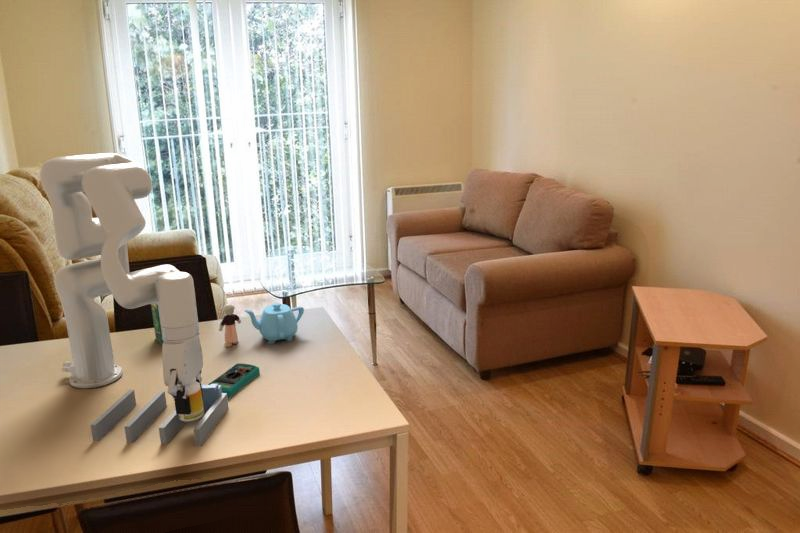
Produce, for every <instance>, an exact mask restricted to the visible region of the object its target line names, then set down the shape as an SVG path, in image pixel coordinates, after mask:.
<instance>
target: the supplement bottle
mask: <svg viewBox="0 0 800 533" xmlns="http://www.w3.org/2000/svg"><path fill="white" fill-rule="evenodd" d="M177 383H182V382H180V381H178V382H177ZM178 390H181V391H182V392H183V387H178ZM187 397H189V398H190V406H191V413H190V414H178V415H179V419H180V420H182V421H185V422H193V421H197V420H199V419H200V418H201V419H202V418H203V416H204V415H205V411H204V407H203V401H202V394H201V387H200V384H199V383H198V382H196V377H195V378H194V379H193V380H192V381H191V382H190V383H189V384H188V390H187Z"/></svg>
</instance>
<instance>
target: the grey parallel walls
mask: <svg viewBox="0 0 800 533" xmlns="http://www.w3.org/2000/svg"><path fill="white" fill-rule="evenodd" d="M201 385H202V393H203V399H202V401H203V407H204V412H206V413H204V414H203V416H202V417H201V419H200V420H199V422H198V423H196V425H195V426H194V428H193V436H194V437H193V438H194V444H195V447H201V446H202V445H203V444H204V442H205V441H206V440H207V438H209V436H210V434H211V433H212V431H213V430H214V429H215V427H216V426H217V424H218V423H220V420H221V419H222V418H223V416H224V415H225V414H226V413H227V411H228V409H229V400H228V397H227V393H222V388H221V385H218V384H211V385H208V384H201ZM135 393H136V392H135V389H128V390H127V391H126V392H125V393H124V394H123V395H121V397H120V398H118V399H117V400H115V402H114V403H113V404H111V406H110V407H108V408H107V409H106V410H105V411H103V413H101V415H99V417H97V418H96V419H95V420H94V421H93V422H91V423H90V424H89V425H90V431H91V436H92V442H100V440H102V438H103V437H105V436H106V435H107V434H108V433H109V432H110V431H111V430H113V428H114V427H115V426H116V425H117V424H119V422H120V421H122V419H123V418H124V417H125V416H126V415H127V414H128V413H130V411H131V410H132V409H133V408H135V407H136V406H137V399H136V395H135ZM166 407H167V398H166V391H165V390H159V391H158V392H157V393H156V394H155V395H154V396H153V397H152V398H150V400H149V401H148V402H147V403H146V404H145V405H144V406H143V407H142V408H141V409H140V410H139V411H138V412H137V413H135V415H134V416H133V417H132V418H131V419H130V420H129V421H128V422H127V423H126V424H125V425H124V433H125V439H126V440H125V441H126V443H127V444H128V443H131V444H132V443H134V442H135V440H136V439H137V438H138V437H140V435H142V433H143V432H144V431H145V430H146V429H147V428H148V427H149V425H151V424H152V423H153V421H154V420H155V419H156V418H157V417H158V416H159V415H160V414H161V413H162V412H163V411H164V410H165V408H166ZM185 422H186V421H182V420H180V419H179V415H178V414H177V413H176V409H175V408H174V410H173V411H171V413H170V414H169V416H168V417H167V418H165V420H164V421H163V422H162V423H161V424H160V426H158V431H159V432H158V433H159V440H160V441H159V442H160V445H167V444H168V443H169V442H170V441H171V440H172V438H173V437H174V436H175V435H176V433H177V432H178V431H179V430H180V429H181V427H182V426H183V425H184V424H185Z"/></svg>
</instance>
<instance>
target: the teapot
mask: <svg viewBox="0 0 800 533" xmlns="http://www.w3.org/2000/svg"><path fill="white" fill-rule="evenodd" d="M295 311H298V313H297V314H298V315H297V317H296V316H295V313H294V312H295ZM243 312H245V313H247V314H248V315H249V317H250V319H251V324H252V326H253V328H255V330H259V333H260V335H261V336H262V337H263V338H264V339H266V340H267V341H268V342H267V343H268V344H275V343H276V341H280V340H285V341H287V342H291V341H293V340H294V338H293V337H294V336H295V335H296V333H297V331H298V328H299V327H298V322H299V321H300V320H301V318H302V317H303V315H304V312H305V308H304V307H303V306H296V307H293V308H291V307H290V306H289V305H288V304H284V303H280V302H275V303H272V304H271V305H267V306H265V307H264V308H263V310H262V313H261V315H260V318H259V320H257V318H256V315H255V312H254V311H252V310H248V309H247V310H246V309H245V310H243ZM292 339H293V340H292ZM290 340H291V341H290Z"/></svg>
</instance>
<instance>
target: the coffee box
mask: <svg viewBox="0 0 800 533" xmlns="http://www.w3.org/2000/svg"><path fill="white" fill-rule="evenodd" d="M150 308H151V314H152V315H151V316H152V322H153V328H154V335H155V339H156V341H157V342H158V343H159V345H160V346H161V347H162V346H163V342H164V341H163V339H162V332H161V324H160V317H159V310H158V302H155V303H151V304H150Z"/></svg>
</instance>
